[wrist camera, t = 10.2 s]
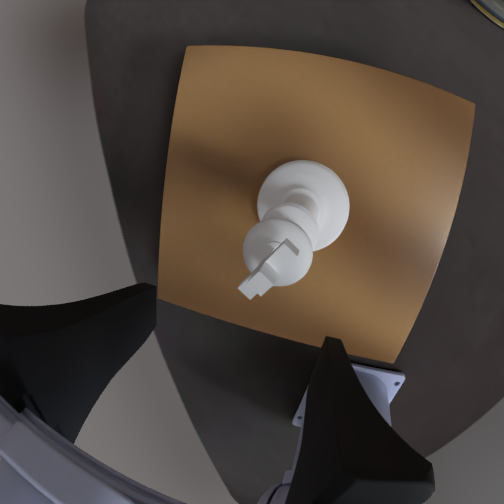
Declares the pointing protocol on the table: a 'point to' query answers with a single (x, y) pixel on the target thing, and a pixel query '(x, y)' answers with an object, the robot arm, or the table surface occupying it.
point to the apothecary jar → (492, 10)
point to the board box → (332, 156)
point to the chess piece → (292, 224)
